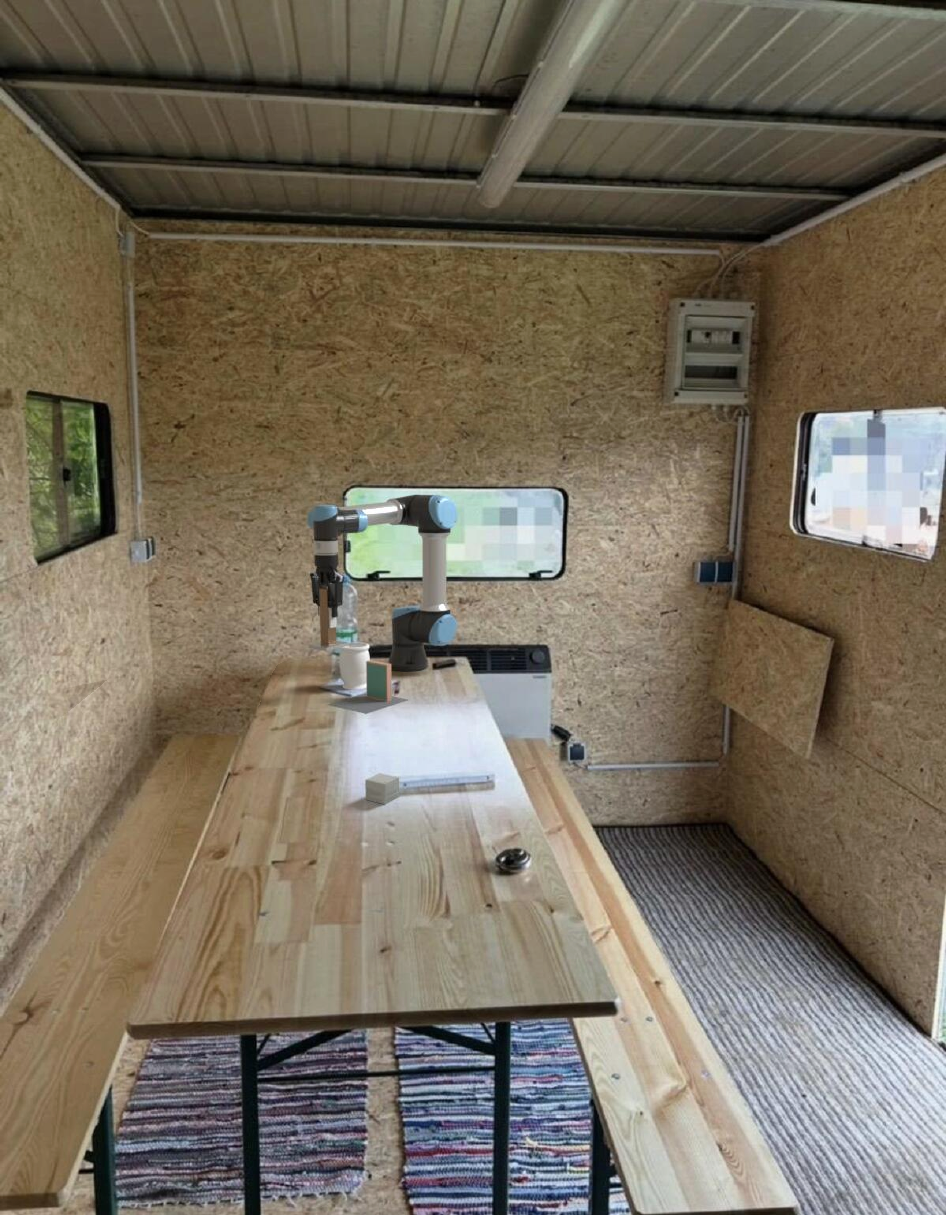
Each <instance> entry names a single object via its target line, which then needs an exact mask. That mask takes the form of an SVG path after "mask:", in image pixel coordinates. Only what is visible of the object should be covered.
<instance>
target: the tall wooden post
mask: <svg viewBox="0 0 946 1215" xmlns="http://www.w3.org/2000/svg"><path fill="white" fill-rule="evenodd" d="M319 596H320V618H319V628H320V629H319V630H320V641H319V642H316V643H315V642H314V643H311V644H308V648H309V649H313V650H319V651H324V652H328V651H332V650H336V649H339V648H341V647H345V646H349V643H350V642H346V641H341V640H337V627H333V628H329V606H330V600H329V594H328V587H327V588H320V589H319Z"/></svg>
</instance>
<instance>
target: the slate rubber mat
mask: <svg viewBox="0 0 946 1215" xmlns="http://www.w3.org/2000/svg"><path fill="white" fill-rule="evenodd" d="M407 701H409V699H408V698H407V699H406V698H404V697H403V698H402V697H397V696H393V695H392V700H391V701H388V702H386V701H382V700H377V699H372V698H368V697H367V692H365V693H362V694H357V695H354V696H351V697H348V698H344V699H341V700H337V701H335V702H332V703H331V702H330V703H327V704H326V706H331V707H334V708H335V707H336V708H339V709H344V710H349V711H352V712H353V711H354V712H357V713H361V714H366V715H367V714H369V713H374V712H376V711H378V710H379V711H380V710H382V709H385V708H389V707H392V706H395V705H398V704H401V703H404V702H407Z"/></svg>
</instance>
